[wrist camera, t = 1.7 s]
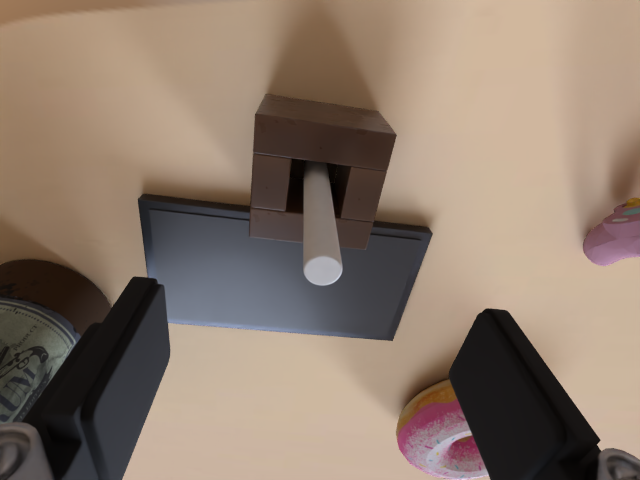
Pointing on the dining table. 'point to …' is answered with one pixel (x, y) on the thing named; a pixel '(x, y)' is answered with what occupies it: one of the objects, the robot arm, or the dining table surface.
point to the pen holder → (322, 146)
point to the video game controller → (615, 235)
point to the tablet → (274, 273)
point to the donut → (439, 435)
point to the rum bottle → (40, 328)
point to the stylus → (319, 227)
